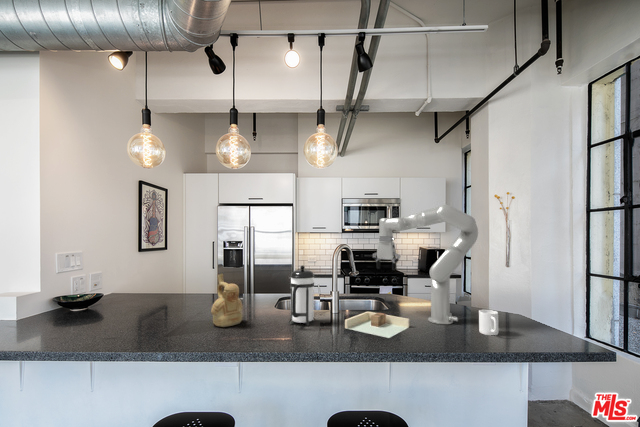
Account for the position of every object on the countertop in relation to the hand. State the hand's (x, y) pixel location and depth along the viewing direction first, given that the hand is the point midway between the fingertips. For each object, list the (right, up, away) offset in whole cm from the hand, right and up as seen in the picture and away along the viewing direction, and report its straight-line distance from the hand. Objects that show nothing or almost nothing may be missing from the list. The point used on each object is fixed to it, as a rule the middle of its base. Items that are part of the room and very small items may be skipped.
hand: (386, 269), depth 194 cm
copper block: (-8, -25, -21) cm, 33 cm away
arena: (-9, -25, -26) cm, 37 cm away
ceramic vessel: (-86, -25, -18) cm, 92 cm away
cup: (+43, -25, -34) cm, 60 cm away
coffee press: (-47, -26, -17) cm, 57 cm away
